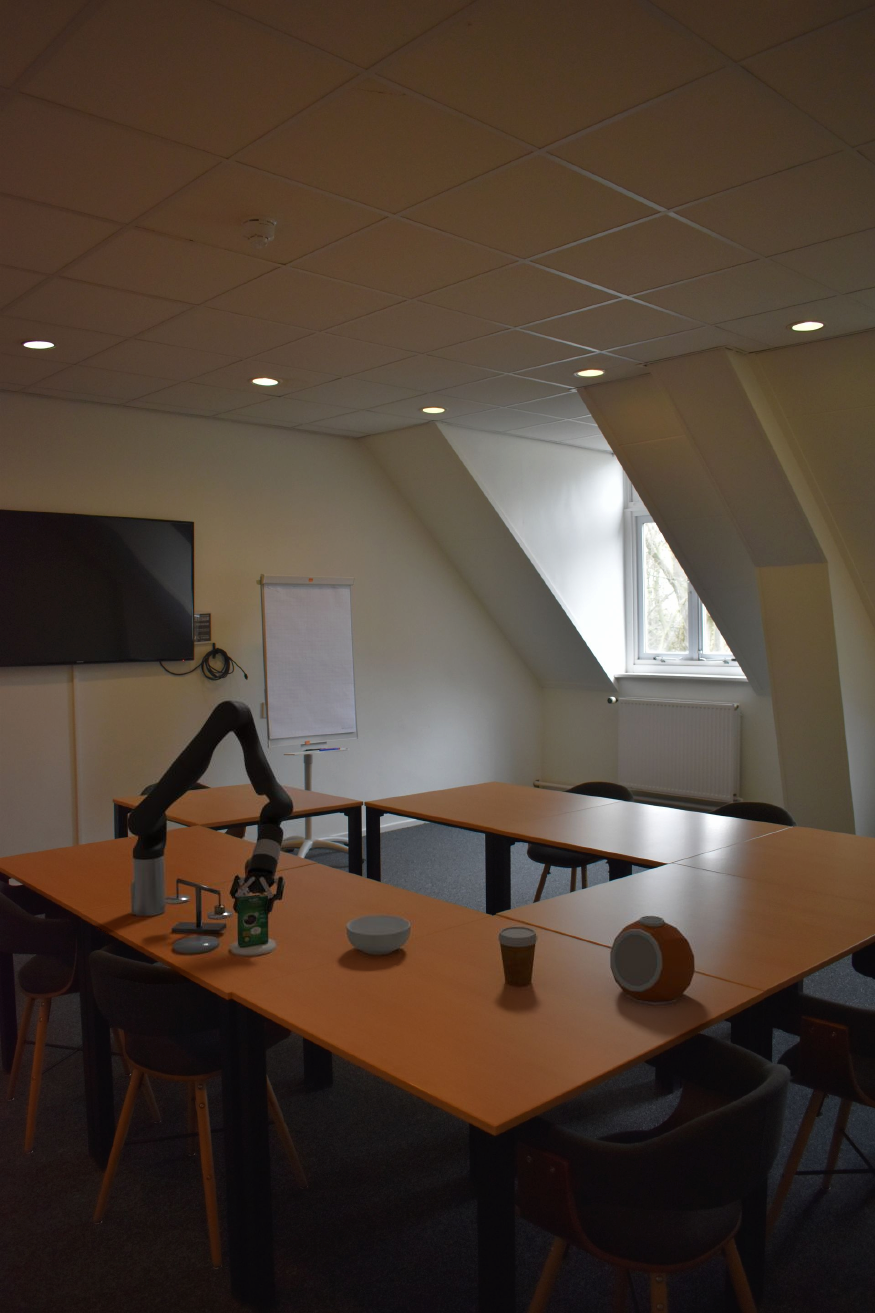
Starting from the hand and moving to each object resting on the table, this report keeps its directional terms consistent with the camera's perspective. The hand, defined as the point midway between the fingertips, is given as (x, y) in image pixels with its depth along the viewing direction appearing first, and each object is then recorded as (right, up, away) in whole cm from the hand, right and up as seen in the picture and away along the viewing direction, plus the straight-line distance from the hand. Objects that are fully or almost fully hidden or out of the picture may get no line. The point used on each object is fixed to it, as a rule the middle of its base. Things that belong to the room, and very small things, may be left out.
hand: (251, 912), depth 252 cm
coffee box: (0, -9, +1) cm, 9 cm away
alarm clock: (+99, -9, -35) cm, 106 cm away
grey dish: (-16, -10, +3) cm, 19 cm away
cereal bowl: (+34, -10, -2) cm, 36 cm away
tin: (-13, -9, +72) cm, 74 cm away
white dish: (0, -10, 0) cm, 10 cm away
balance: (-18, -10, +17) cm, 27 cm away
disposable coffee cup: (+69, -10, -27) cm, 75 cm away
